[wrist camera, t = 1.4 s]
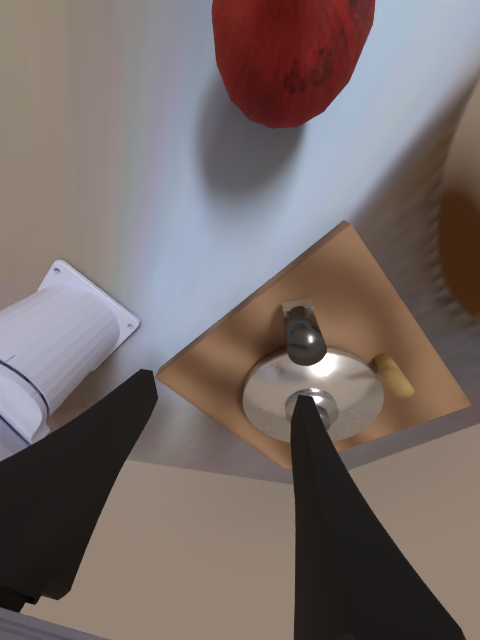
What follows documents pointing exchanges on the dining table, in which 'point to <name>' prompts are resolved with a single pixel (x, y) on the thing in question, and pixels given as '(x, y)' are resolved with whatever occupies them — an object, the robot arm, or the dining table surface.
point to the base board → (337, 330)
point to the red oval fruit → (288, 54)
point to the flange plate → (311, 381)
